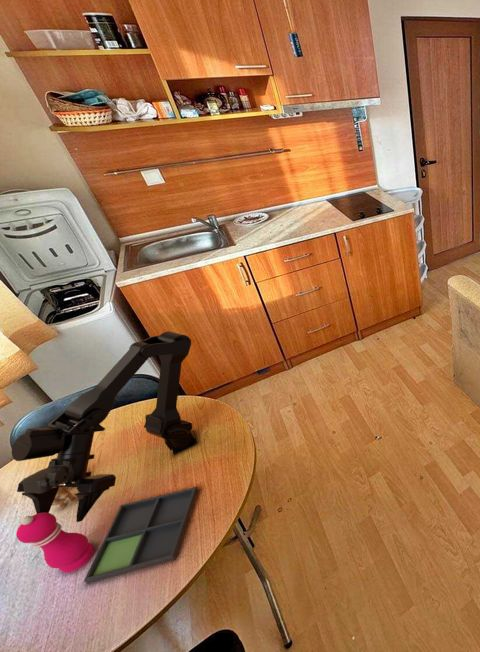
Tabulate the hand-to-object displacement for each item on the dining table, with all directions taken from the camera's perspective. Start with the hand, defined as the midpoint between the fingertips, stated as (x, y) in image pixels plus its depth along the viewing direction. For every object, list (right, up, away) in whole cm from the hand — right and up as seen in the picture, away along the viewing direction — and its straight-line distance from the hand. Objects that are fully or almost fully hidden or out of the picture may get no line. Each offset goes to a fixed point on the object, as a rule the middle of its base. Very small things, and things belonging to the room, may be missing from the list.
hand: (60, 521), depth 89 cm
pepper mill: (0, -12, +4) cm, 13 cm away
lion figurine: (-15, -3, +18) cm, 24 cm away
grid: (+14, -8, +9) cm, 18 cm away
